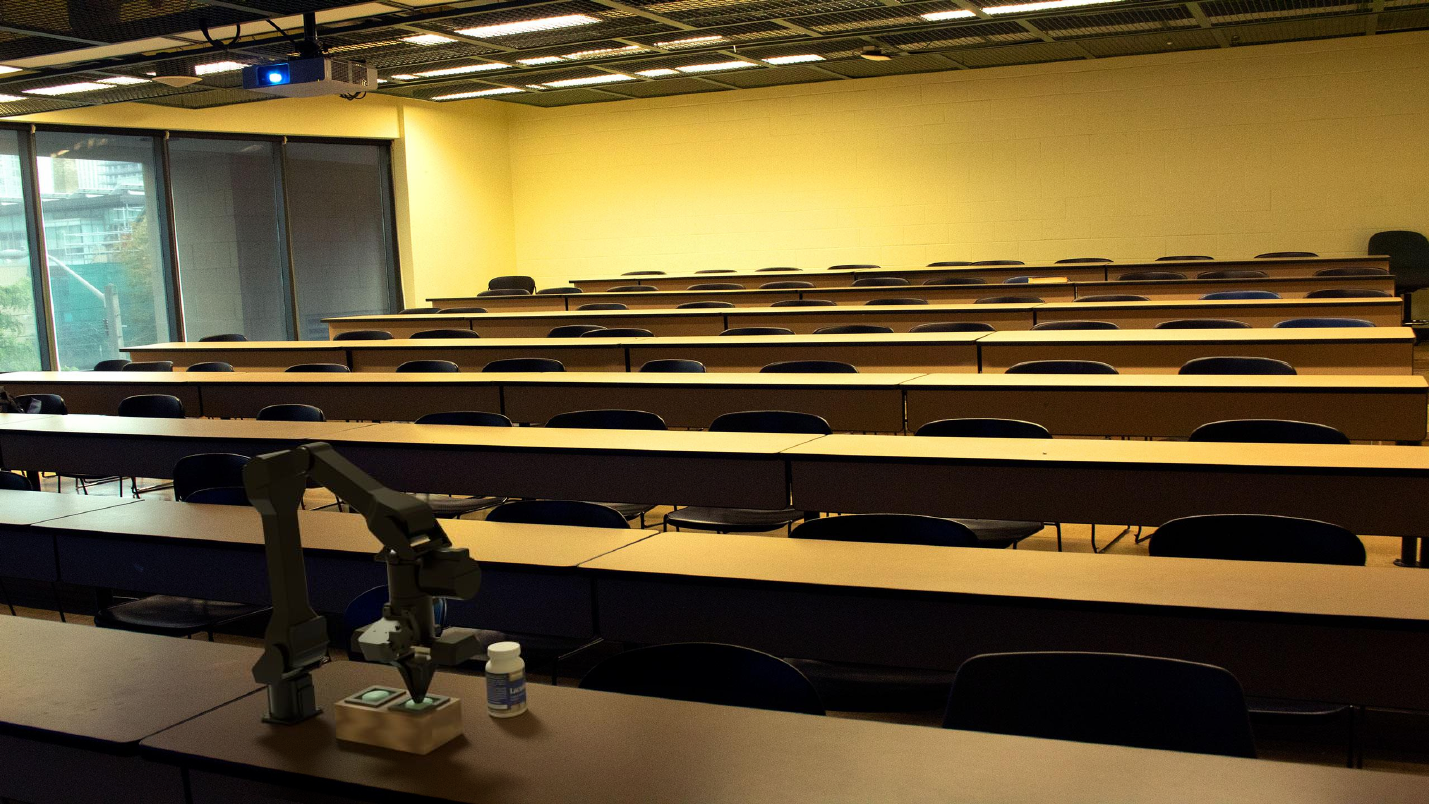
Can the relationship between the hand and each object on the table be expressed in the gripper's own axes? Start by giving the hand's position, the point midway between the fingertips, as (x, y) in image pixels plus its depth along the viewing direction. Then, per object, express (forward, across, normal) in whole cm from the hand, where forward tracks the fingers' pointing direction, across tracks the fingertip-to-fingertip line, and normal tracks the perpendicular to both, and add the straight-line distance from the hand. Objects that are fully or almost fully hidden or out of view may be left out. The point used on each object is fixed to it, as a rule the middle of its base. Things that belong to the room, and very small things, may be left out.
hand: (418, 702), depth 157 cm
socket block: (+5, -4, 0) cm, 7 cm away
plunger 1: (+5, -8, 0) cm, 10 cm away
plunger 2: (+5, 0, 0) cm, 5 cm away
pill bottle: (+6, +5, +13) cm, 15 cm away
